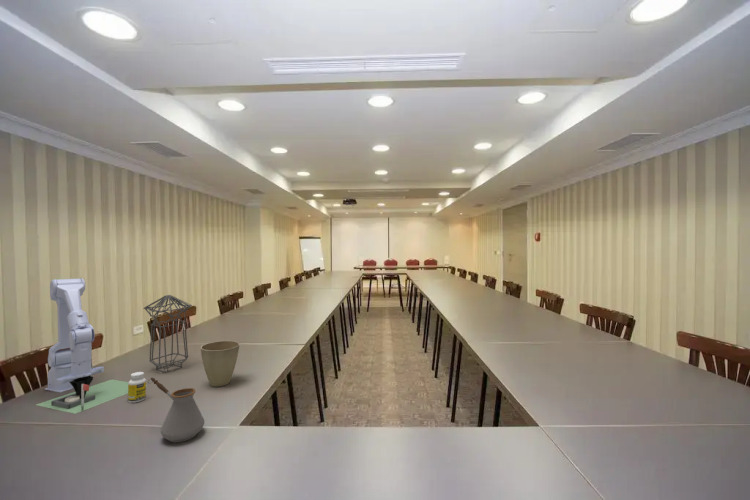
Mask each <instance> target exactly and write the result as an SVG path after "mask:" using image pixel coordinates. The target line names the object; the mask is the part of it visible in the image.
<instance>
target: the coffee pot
mask: <svg viewBox="0 0 750 500" xmlns="http://www.w3.org/2000/svg"><path fill="white" fill-rule="evenodd" d="M150 380H151V382H150ZM147 383H148V384H154V385H156V387H157V388H158V389H159V390H161V391H162V392H163V393H164V394H166V395H167V396H168V397H169V398H170V399H171V400H172V403H171V406H170V408H169V411H168V413H167V415H166V417H165V419H164V421H163V423H162V426H161V428H160V434H161V436H162V437H163V438H164V439H166V441H167V440H168V441H169V442H170V443H181V442H186V441H189V440H192V439H193V438H194V437H196V436H197V434H199V432H201V431H202V429H203V427H204V426H205V419H204V417H203V415H202V412H201V411H200V409H199V407H198V405H197V403H196V400H195V399H194V394H195V393H196V389H195V388H194V387H191V388H190V387H189V388H188V387H186V388H182V389H177V390H175V391H173V392H172V393H171V392H170V391H169V390H168V388H166V386H164V385H163V384H162V383H161V382H160V381H159V380H157V379H156V378H155V377H150V378H149V379H148V380H147Z"/></svg>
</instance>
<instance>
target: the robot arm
mask: <svg viewBox="0 0 750 500" xmlns="http://www.w3.org/2000/svg"><path fill="white" fill-rule="evenodd" d="M85 290H86V281H85V279H84V278H82V277H80V278H62V279H59V278H58V279H54V278H53V279H52V280H51V281H50V284H49V297H50V301H55V302H56V305H57V342H56V343H55V344H53V345H52V346H50V347H49V349H48V355H47V364H48V366H49V367H50V369H49V370H48V372H47V387H46V388H45V389H44V390H45V391H51V392H55V393H63V392H66V391H70V390H73V389H74V392H76V395H78V396H80V399H81V384H86V385H89V386H90V384H92V382H93V380H94V377H93V375H96V374H100V373H101V374H102V373H105V367H104V366H97V367H92V358H93V357H92V356H93V355H92V354H93V353H92V350H93V349H92V347H93V346H92V344H93V342H94V340H95V335H96V334H95V328H94V326H92V324H90V321H89V318H88V313H87V312H86V311H84V310H83V309H82V308H83V307H82V299H81V296H83V295H84V292H85ZM86 392H87V391H85V390H84V398H85V395H86Z"/></svg>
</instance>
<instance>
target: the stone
mask: <svg viewBox="0 0 750 500" xmlns="http://www.w3.org/2000/svg"><path fill="white" fill-rule="evenodd" d="M78 400H80V396H78V395H76V396H70V397H67V398H65V402H66V403H72V402H75V401H78Z"/></svg>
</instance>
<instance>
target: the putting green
mask: <svg viewBox="0 0 750 500" xmlns="http://www.w3.org/2000/svg"><path fill="white" fill-rule="evenodd" d="M128 383H129V381H124V380H123V381H122V380H116V379H109V380H106V381H103V382H100V383H96V384H94V385H91V386H89V391H87V392H86V395H85V398H86V397H89V396H92V395H95V400H92V401H89V402H87V403H84V410H83V411H86V410H88V409H91V408H94V407H97V406H99V405H102V404H104V403H107V402H109V401H112V400H115V399H117V398H120V397H122V396H125V395H128ZM146 387H148V385H147V384H146ZM75 393H76V392H75V391H73V392H69V393H67V394H64V395H61V396H58V397H55V398H52V399H49V400H46V401H44V402H43V401H42V402H40V403H37V404H35V406H38V407H42V408H48V409H51V410H57V411H61V412H64V413H70V414H74V415H76V414H79V413H81V412H83V411H81V405H78V406H76V407H73V408H70V409H65V408H61V407H56V406H51V401H54V400H57V399H60V398H63V397H66V396H69V395H72V394H75Z"/></svg>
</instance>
